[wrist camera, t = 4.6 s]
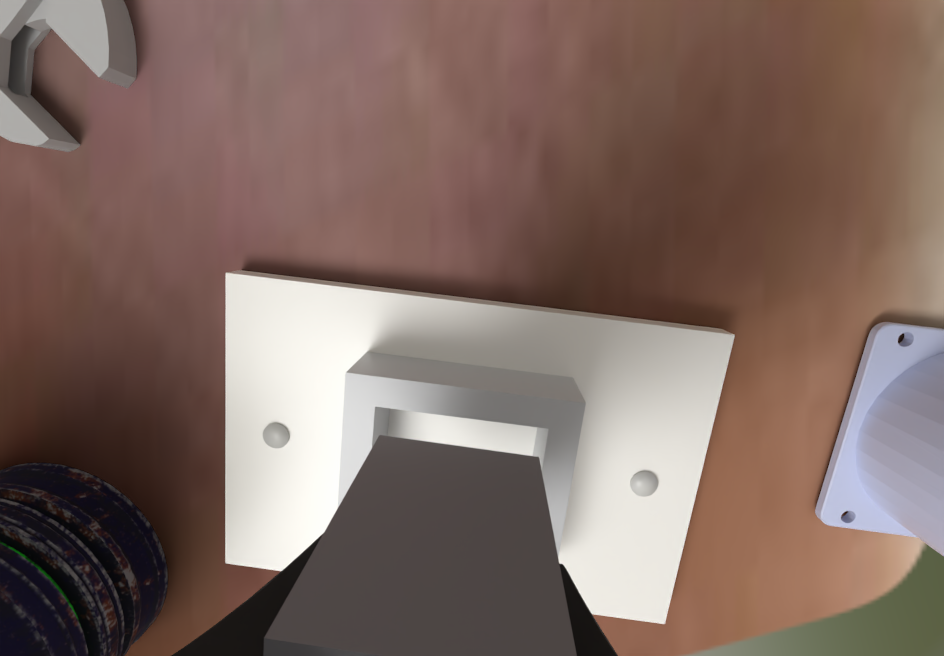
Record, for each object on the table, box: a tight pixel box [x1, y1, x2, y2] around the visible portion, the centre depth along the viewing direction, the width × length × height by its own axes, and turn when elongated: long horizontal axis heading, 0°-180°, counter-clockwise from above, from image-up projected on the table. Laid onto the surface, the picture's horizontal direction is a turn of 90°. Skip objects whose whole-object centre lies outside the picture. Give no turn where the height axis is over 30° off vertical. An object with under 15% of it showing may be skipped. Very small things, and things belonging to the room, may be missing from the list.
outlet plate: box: [225, 270, 735, 624], centre depth 17 cm, size 18×12×4 cm, turn 84°
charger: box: [263, 435, 577, 656], centre depth 9 cm, size 4×4×6 cm
